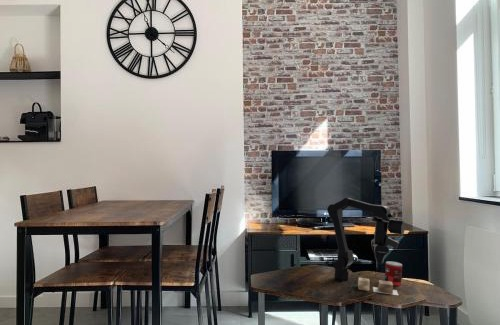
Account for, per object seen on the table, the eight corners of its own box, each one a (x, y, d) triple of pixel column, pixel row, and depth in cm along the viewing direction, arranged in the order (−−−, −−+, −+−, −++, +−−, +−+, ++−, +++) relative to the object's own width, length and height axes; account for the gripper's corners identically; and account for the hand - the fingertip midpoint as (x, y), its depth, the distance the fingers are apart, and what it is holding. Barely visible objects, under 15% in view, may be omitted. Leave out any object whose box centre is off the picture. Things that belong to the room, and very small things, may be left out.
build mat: (373, 292, 178) (373, 291, 178) (372, 288, 186) (372, 286, 186) (398, 296, 175) (398, 295, 175) (396, 291, 183) (396, 290, 183)
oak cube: (358, 290, 180) (358, 280, 180) (357, 287, 185) (358, 277, 185) (369, 292, 179) (369, 281, 179) (368, 289, 184) (369, 278, 184)
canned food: (386, 281, 200) (387, 260, 200) (402, 284, 196) (403, 263, 196) (382, 284, 193) (384, 263, 194) (399, 288, 189) (400, 266, 189)
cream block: (379, 291, 178) (379, 283, 178) (378, 288, 184) (378, 279, 184) (392, 293, 177) (393, 285, 177) (391, 290, 182) (391, 281, 183)
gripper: (401, 236, 174) (398, 270, 174) (395, 230, 193) (392, 261, 192) (376, 233, 177) (373, 266, 177) (372, 227, 195) (369, 258, 195)
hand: (378, 263), depth 185 cm, fingers open, 9 cm apart
